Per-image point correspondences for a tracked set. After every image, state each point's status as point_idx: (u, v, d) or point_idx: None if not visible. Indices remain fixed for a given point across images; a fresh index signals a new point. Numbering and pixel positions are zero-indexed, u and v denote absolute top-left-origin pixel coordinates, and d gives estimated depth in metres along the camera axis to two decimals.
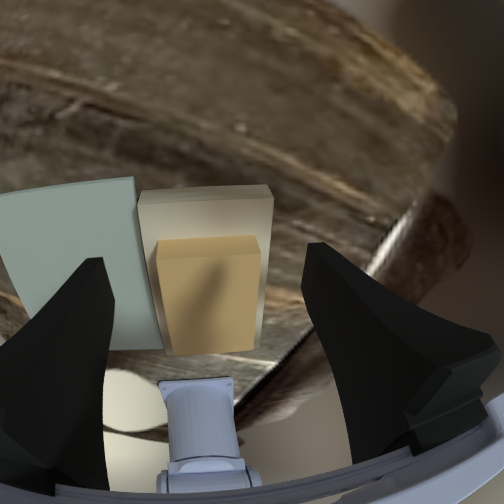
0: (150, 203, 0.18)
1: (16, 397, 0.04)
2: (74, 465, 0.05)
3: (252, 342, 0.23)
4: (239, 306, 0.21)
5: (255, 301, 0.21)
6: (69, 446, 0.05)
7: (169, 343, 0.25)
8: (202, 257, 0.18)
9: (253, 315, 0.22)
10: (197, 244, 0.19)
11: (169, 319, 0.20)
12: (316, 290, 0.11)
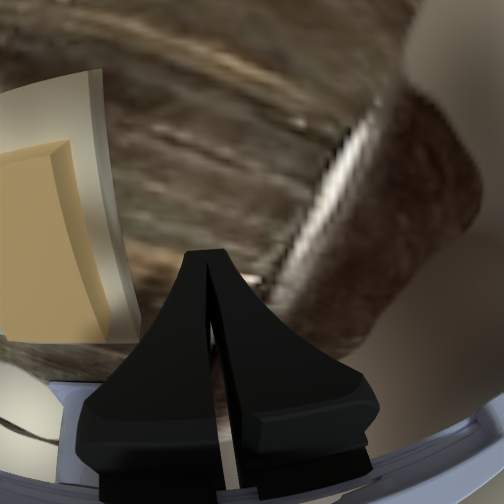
0: None
1: None
2: None
3: (98, 329, 0.13)
4: (49, 261, 0.11)
5: (70, 252, 0.11)
6: None
7: None
8: None
9: (77, 279, 0.11)
10: None
11: None
12: (210, 300, 0.10)
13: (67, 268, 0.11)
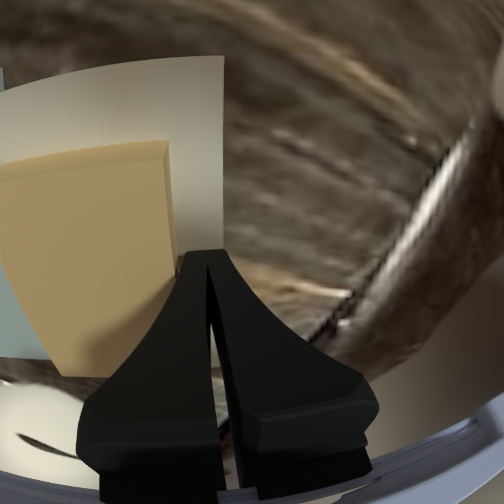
0: (3, 91, 0.07)
1: None
2: None
3: None
4: (140, 291, 0.10)
5: (171, 280, 0.10)
6: None
7: None
8: (42, 175, 0.07)
9: None
10: (52, 159, 0.08)
11: (27, 311, 0.09)
12: (209, 300, 0.10)
13: (163, 299, 0.10)
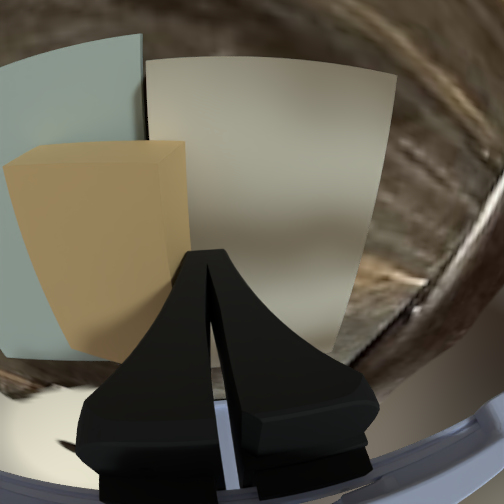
0: (173, 58, 0.08)
1: (213, 401, 0.04)
2: None
3: None
4: (138, 288, 0.10)
5: (167, 285, 0.09)
6: None
7: None
8: (55, 164, 0.08)
9: None
10: (73, 148, 0.09)
11: (42, 283, 0.11)
12: (210, 300, 0.10)
13: (160, 301, 0.10)
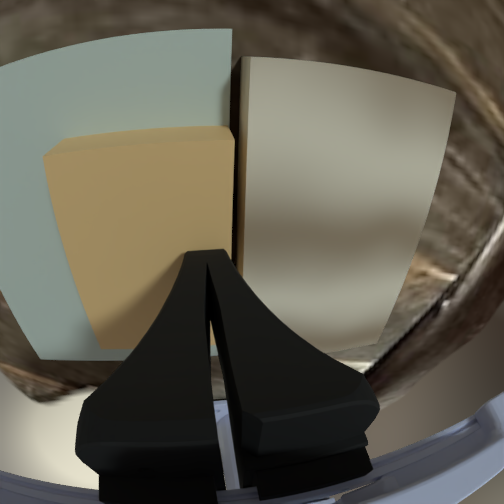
0: (276, 58, 0.08)
1: (213, 401, 0.04)
2: None
3: None
4: None
5: (227, 248, 0.11)
6: None
7: None
8: (120, 147, 0.08)
9: None
10: (121, 135, 0.09)
11: (78, 281, 0.11)
12: (210, 300, 0.10)
13: None
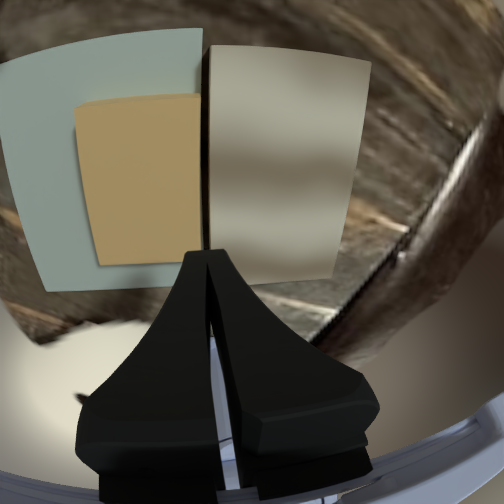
0: None
1: (213, 401, 0.04)
2: None
3: (198, 247, 0.18)
4: (175, 182, 0.15)
5: (197, 174, 0.15)
6: None
7: None
8: (126, 102, 0.12)
9: (196, 198, 0.16)
10: (127, 98, 0.13)
11: (89, 201, 0.15)
12: (210, 300, 0.10)
13: (190, 188, 0.16)
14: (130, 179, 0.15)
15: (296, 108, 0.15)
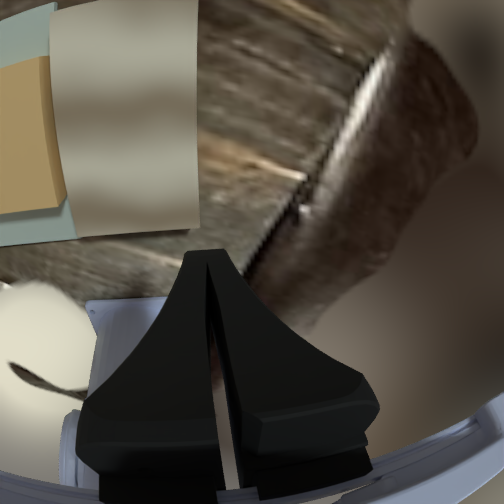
0: (63, 9, 0.11)
1: None
2: None
3: (53, 192, 0.16)
4: (26, 132, 0.13)
5: (41, 122, 0.13)
6: None
7: (79, 214, 0.18)
8: None
9: (43, 145, 0.14)
10: None
11: None
12: (210, 300, 0.10)
13: (37, 136, 0.14)
14: None
15: (122, 48, 0.13)
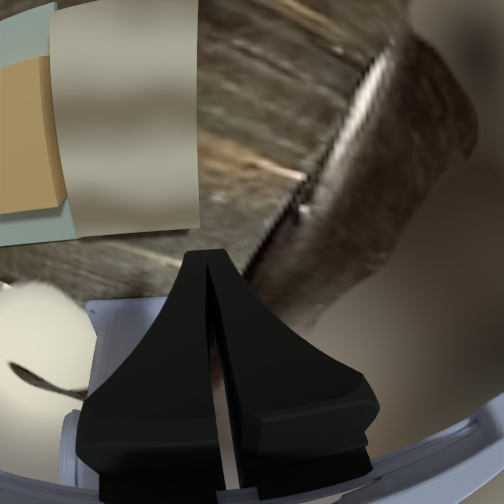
0: (63, 9, 0.11)
1: None
2: None
3: (53, 192, 0.16)
4: (26, 132, 0.13)
5: (41, 122, 0.13)
6: None
7: (79, 214, 0.18)
8: None
9: (43, 145, 0.14)
10: None
11: None
12: (210, 300, 0.10)
13: (37, 136, 0.14)
14: None
15: (122, 48, 0.13)
